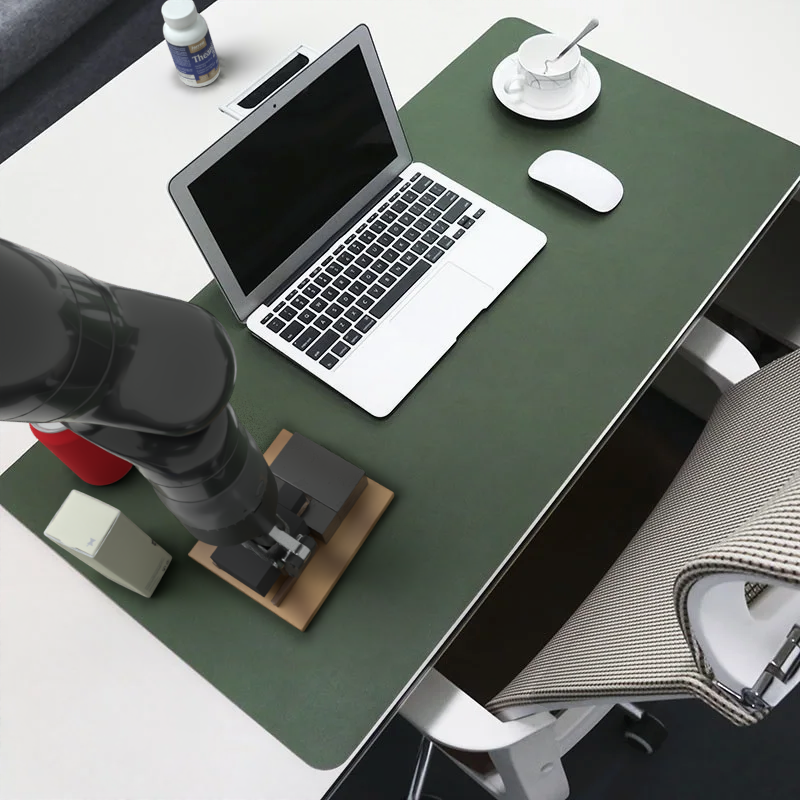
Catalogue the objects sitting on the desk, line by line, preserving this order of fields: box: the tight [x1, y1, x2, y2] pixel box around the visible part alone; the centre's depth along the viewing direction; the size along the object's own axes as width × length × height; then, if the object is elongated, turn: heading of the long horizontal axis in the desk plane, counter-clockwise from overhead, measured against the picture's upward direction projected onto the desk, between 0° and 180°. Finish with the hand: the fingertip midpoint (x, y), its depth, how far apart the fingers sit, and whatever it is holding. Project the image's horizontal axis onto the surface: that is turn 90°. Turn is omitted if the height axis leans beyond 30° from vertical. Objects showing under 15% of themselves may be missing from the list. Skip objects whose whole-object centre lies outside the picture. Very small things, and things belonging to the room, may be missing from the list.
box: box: [43, 489, 173, 599], centre depth 72 cm, size 5×4×13 cm
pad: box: [210, 482, 310, 597], centre depth 74 cm, size 9×5×4 cm, turn 147°
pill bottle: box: [161, 0, 221, 88], centre depth 103 cm, size 5×5×10 cm
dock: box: [187, 428, 395, 633], centre depth 77 cm, size 15×13×4 cm
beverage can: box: [28, 422, 134, 486], centre depth 78 cm, size 6×6×12 cm
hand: (264, 548), depth 74 cm, fingers closed on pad, 5 cm apart
